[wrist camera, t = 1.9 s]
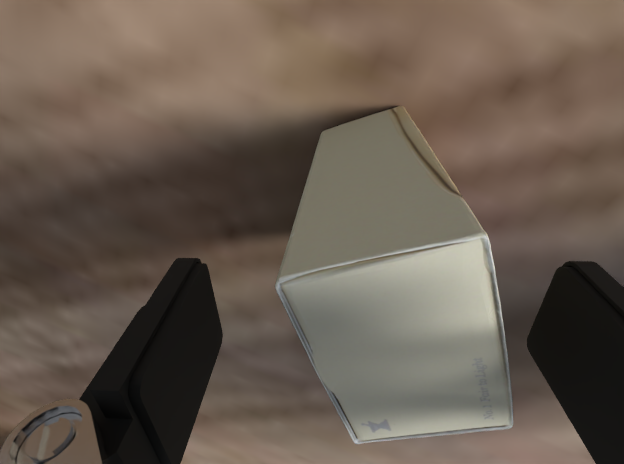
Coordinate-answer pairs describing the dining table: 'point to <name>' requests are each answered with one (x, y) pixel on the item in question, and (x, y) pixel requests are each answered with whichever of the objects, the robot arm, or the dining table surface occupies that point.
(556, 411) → the dining table surface
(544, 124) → the dining table surface
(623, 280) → the dining table surface
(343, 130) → the skincare box
